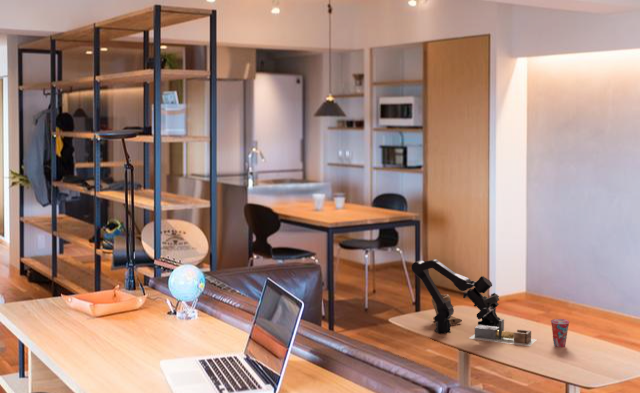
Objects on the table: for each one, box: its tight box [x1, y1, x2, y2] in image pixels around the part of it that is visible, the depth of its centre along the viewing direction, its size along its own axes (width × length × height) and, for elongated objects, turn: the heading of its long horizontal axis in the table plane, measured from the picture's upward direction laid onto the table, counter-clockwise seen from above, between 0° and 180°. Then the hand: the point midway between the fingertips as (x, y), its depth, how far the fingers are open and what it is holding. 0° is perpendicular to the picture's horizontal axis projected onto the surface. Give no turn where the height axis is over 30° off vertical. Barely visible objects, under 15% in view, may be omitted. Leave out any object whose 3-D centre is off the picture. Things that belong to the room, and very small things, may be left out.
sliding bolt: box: [496, 318, 515, 339], centre depth 393 cm, size 17×4×9 cm, turn 60°
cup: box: [550, 318, 570, 348], centre depth 379 cm, size 9×8×12 cm
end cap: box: [477, 315, 502, 327], centre depth 413 cm, size 10×7×7 cm
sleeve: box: [474, 324, 499, 340], centre depth 395 cm, size 10×6×5 cm, turn 60°
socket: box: [513, 329, 532, 344], centre depth 386 cm, size 6×7×5 cm
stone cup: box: [431, 293, 463, 326], centre depth 425 cm, size 15×12×15 cm
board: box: [468, 333, 538, 347], centre depth 391 cm, size 30×13×1 cm, turn 60°
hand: (499, 323), depth 391 cm, fingers closed, pressing on sliding bolt
